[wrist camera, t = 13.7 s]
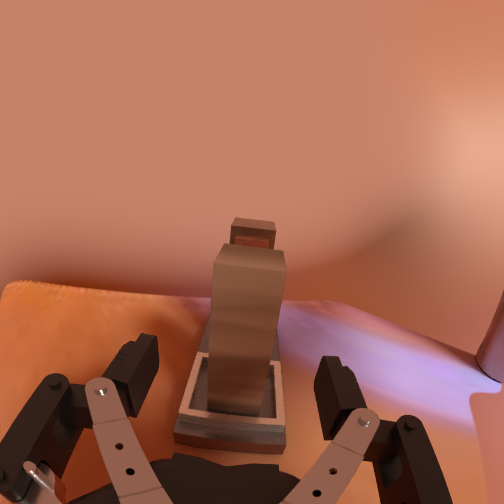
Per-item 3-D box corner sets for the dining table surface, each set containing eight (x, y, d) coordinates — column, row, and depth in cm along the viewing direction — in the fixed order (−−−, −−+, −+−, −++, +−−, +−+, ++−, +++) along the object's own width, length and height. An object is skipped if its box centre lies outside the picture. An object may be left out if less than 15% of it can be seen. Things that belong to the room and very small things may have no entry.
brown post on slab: (282, 454, 16) (334, 298, 12) (174, 442, 16) (160, 278, 12) (273, 321, 35) (290, 219, 31) (212, 314, 35) (220, 211, 31)
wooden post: (258, 415, 19) (286, 271, 15) (207, 407, 19) (213, 262, 15) (260, 377, 23) (282, 248, 19) (215, 371, 23) (225, 241, 19)
